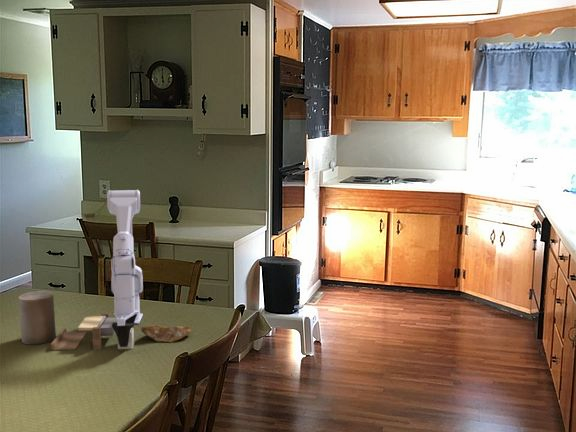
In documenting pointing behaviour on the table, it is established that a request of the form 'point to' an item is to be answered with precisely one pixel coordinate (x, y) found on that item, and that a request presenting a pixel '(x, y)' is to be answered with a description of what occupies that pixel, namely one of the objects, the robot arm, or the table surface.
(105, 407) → the table surface
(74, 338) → the frame
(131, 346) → the stone block
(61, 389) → the table surface
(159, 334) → the decorative stone
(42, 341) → the pillar candle
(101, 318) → the trapdoor
